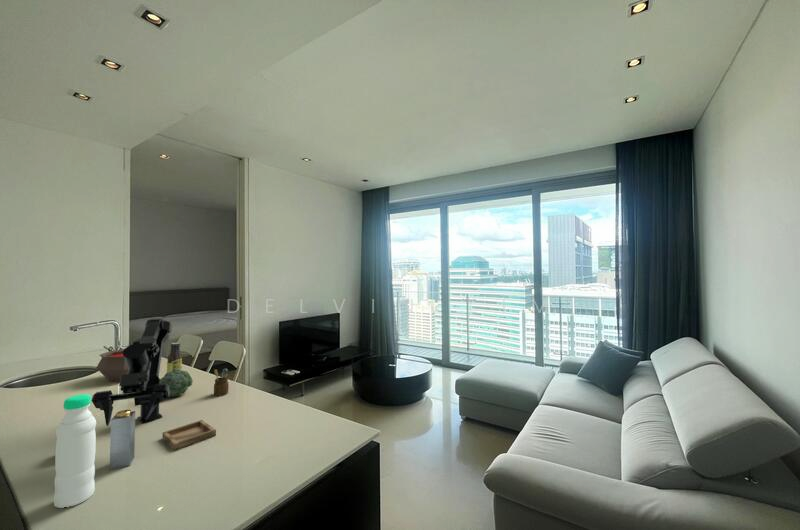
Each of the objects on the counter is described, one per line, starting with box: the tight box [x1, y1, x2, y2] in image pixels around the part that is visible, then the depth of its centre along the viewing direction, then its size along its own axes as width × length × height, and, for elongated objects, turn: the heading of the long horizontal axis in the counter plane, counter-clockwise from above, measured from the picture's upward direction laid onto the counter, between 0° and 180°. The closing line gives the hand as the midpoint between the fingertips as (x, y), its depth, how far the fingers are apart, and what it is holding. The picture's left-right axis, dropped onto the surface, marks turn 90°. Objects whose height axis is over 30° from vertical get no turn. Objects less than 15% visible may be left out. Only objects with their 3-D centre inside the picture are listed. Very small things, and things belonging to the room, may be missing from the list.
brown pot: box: [95, 346, 129, 383], centre depth 172 cm, size 24×24×16 cm
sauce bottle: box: [166, 342, 183, 373], centre depth 164 cm, size 7×6×20 cm
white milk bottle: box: [53, 393, 97, 509], centre depth 79 cm, size 7×7×25 cm
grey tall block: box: [109, 409, 136, 471], centre depth 94 cm, size 4×4×15 cm
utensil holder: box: [213, 368, 230, 397], centre depth 149 cm, size 6×6×12 cm
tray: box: [162, 419, 217, 452], centre depth 109 cm, size 12×12×2 cm
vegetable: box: [159, 369, 194, 398], centre depth 148 cm, size 12×13×15 cm
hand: (126, 422), depth 97 cm, fingers open, 9 cm apart
